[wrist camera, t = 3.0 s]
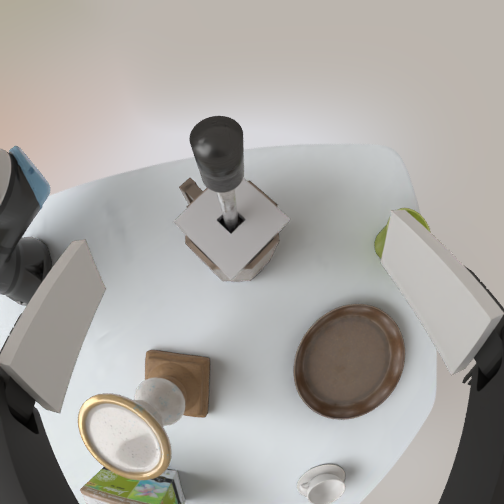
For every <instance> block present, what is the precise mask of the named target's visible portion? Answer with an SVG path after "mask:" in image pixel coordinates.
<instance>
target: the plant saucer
mask: <svg viewBox="0 0 504 504" xmlns="http://www.w3.org/2000/svg"><path fill="white" fill-rule="evenodd" d="M404 362H405V345H404V340H403V337H402V334H401V331H400V329H399V328H398V326H397V324H396V323H395V321H394V320H393V319H392V318H391V317H390V316H389V315H388V314H386V313H385V312H384V311H382V310H380V309H378V308H376V307H374V306H370V305H365V304H351V305H345V306H341V307H338V308H336V309H334V310H332V311H330V312H328V313H326V314H325V315H323V316H322V317H321V318H319V319H318V320H317V321H316V322H315V323H314V324H313V325H312V326H311V327H310V328H309V330H308V331H307V332H306V334H305V335H304V337H303V339H302V340H301V342H300V344H299V347H298V349H297V352H296V356H295V361H294V381H295V385H296V389H297V391H298V393H299V395H300V397H301V399H302V400H303V402H304V403H305V404H306V405H307V406H308V407H309V408H310V409H311V410H313V411H314V412H316V413H317V414H319V415H321V416H324V417H327V418H331V419H339V420H344V419H352V418H356V417H359V416H362V415H364V414H367V413H369V412H370V411H372V410H374V409H375V408H377V407H378V406H379V405H381V404H382V403H383V402H384V401H385V400H386V399H387V398H388V397H389V395H390V394H391V393H392V392H393V390H394V389H395V387H396V385H397V383H398V381H399V379H400V377H401V374H402V371H403V367H404Z"/></svg>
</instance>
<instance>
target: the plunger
mask: <svg viewBox="0 0 504 504" xmlns="http://www.w3.org/2000/svg"><path fill="white" fill-rule="evenodd" d="M190 144H191V147H192V150H193V153H194V156H195V159H196V162H197V165H198V168H199V171H200V174H201V177H202V180H203V183H204V184H205V186H206V187H207V188H208V189H210V190H212V191H214V192H217V196H218V200H219V204H220V208H221V211H222V215H223V218H222V219H221V220H220V221H219V223H220V224H221V225H222V226H223V227H224V228H225V229H226V230H227V231H228V232H229V233H230V234H232V233H233V232H234V231H235V230H236V229H237V228H238V227H239V226H240V225H241V224H242V223H243V222H244V220H243V219H241V218H240V217H239V216H238V214H237V205H236V195H235V188H237V187H238V186H239V185H240V183H241V182H242V180H243V177H244V156H243V131H242V128H241V126H240V125H239V124H238V123H237V122H236V121H235V120H233V119H231V118H229V117H225V116H213V117H209V118H206V119H204V120H202V121H201V122H199V123H198V124H197V125H196V126H195V127H194V128H193V130H192V131H191V134H190Z"/></svg>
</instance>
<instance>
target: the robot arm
mask: <svg viewBox="0 0 504 504" xmlns="http://www.w3.org/2000/svg"><path fill="white" fill-rule="evenodd" d="M49 194H50V185H49V183H48V182H47V181H46V179H45V178H44V177H43V175H42V174H41V173H40V171H39V170H38V169H37V168H36V167H35V166H34V164H33V163H32V162H31V160H30V159H29V158H28V157H27V156H26V154H25V153H24V152H23V151H22V150H21V149H20V148H19V147H18V146H14V147H13V148H12V149H10V150H9V153H8V152H6V151H5V150H3V149H0V294H2V295H6V296H7V297H9V298H10V299H12V300H14V301H15V302H17V303H18V304H20V305H24V306H26V308H25V310H24V311H23V313H22V314H21V315H20V316H19V318H18V319H17V321H16V323H15V325H14V328H12V330H11V332H10V336H8V338H7V339H6V341H5V343H4V345H3V347H2V349H1V351H0V504H79V503H78V501H77V499H76V498H75V496H74V494H73V492H72V490H71V488H70V487H69V485H68V483H67V481H66V479H65V477H64V475H63V473H62V471H61V468H60V466H59V464H58V462H57V460H56V457H55V455H54V453H53V450H52V448H51V445H50V443H49V440H48V437H47V435H46V432H45V429H44V426H43V423H42V420H41V417H40V414H39V412H38V410H37V408H35V407H34V405H35V401H36V402H38V403H39V404H40V405H41V406H42V407H43V408H45V409H46V410H50V411H53V412H57V413H60V412H61V408H62V405H63V401H64V398H65V394H66V391H67V388H68V385H69V381H70V378H71V375H72V372H73V369H74V366H75V364H76V361H77V358H78V355H79V352H80V350H81V347H82V344H83V342H84V339H85V337H86V334H87V332H88V329H89V327H90V324H91V322H92V320H93V317H94V315H95V313H96V310H97V308H98V306H99V303H100V301H101V299H102V297H103V295H104V292H105V290H106V287H105V285H104V283H103V281H102V279H101V276H100V274H99V272H98V269H97V267H96V265H95V262H94V260H93V257H92V255H91V252H90V250H89V247H88V245H87V242H86V239H84V240H78V241H72V242H71V244H70V245H69V246H68V248H67V249H66V250H65V251H64V253H63V254H62V255H61V257H60V258H59V259H58V261H57V262H56V263H55V265H54V266H53V267H52V265H51V258H50V254H49V251H48V249H47V247H46V245H45V244H44V243H43V242H42V241H40V240H38V239H36V238H33V237H24V238H22V236H23V234H24V233H25V231H26V230H27V228H28V227H29V225H30V224H31V222H32V221H33V219H34V218H35V216H36V215H37V213H38V212H39V211H40V209H41V208H42V205H43V204H44V202H45V201H46V199H47V197H48V196H49ZM380 263H381V264H382V266H383V267H384V269H385V270H386V271H387V273H388V274H389V276H390V277H391V278H392V280H393V281H394V283H395V284H396V286H397V287H398V288H399V290H400V291H401V293H402V294H403V296H404V297H405V299H406V300H407V302H408V303H409V305H410V306H411V308H412V309H413V311H414V313H415V314H416V316H417V317H418V319H419V320H420V322H421V324H422V325H423V327H424V329H425V330H426V332H427V333H428V335H429V337H430V339H431V340H432V342H433V344H434V345H435V347H436V349H437V351H438V352H439V354H440V356H441V357H442V359H443V361H444V363H445V365H446V367H447V369H448V370H449V372H450V374H451V375H453V374H455V373H457V372H459V371H461V370H463V369H465V368H466V367H467V366H468V364H469V363H470V362H471V361H472V359H473V358H474V359H475V361H476V365H475V366H474V367H473V368H472V369H471V370H470V372H469V373H468V374H467V375H466V376H465V377H464V380H463V383H465V382H466V381H467V380H468V379H469V378H470V377H471V376H472V379H471V380H470V381H469V383H468V385H471V388H470V395H469V402H468V407H467V413H466V418H465V423H464V427H463V432H462V436H461V440H460V444H459V447H458V451H457V454H456V458H455V461H454V464H453V467H452V470H451V473H450V476H449V479H448V482H447V484H446V486H445V489H444V492H443V494H442V496H441V499H440V501H439V503H438V504H504V308H503V307H502V306H501V304H500V303H499V302H498V301H497V299H496V298H495V297H494V296H493V295H492V293H491V292H490V291H489V290H488V289H486V286H485V285H484V284H483V283H482V282H480V280H479V279H478V277H477V276H476V275H475V274H474V273H473V272H472V271H471V270H469V269H468V268H466V267H465V266H464V265H463V264H462V263H461V262H460V261H459V260H458V259H457V258H456V257H455V256H454V255H453V254H452V253H451V252H450V251H449V250H448V249H447V248H446V247H445V246H444V245H443V244H442V243H441V242H440V241H439V240H438V239H437V238H436V237H435V236H434V235H433V234H431V233H430V232H429V231H428V230H427V229H426V228H425V227H424V226H423V225H422V224H421V223H419V222H418V221H417V220H416V219H415V218H414V217H413V216H411V215H410V214H409V213H408V212H407V211H406V210H391V215H390V220H389V225H388V230H387V235H386V240H385V245H384V249H383V253H382V258H381V262H380Z"/></svg>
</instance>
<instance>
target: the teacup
mask: <svg viewBox="0 0 504 504" xmlns="http://www.w3.org/2000/svg"><path fill="white" fill-rule="evenodd" d="M344 480H345V472H344V470H343V469H342V468H341V467H339V466H337V465H333V464H326V465H320V466H317V467H314V468H312V469H310V470H308V471H307V472H306V473H304V474H303V475H302V476H301V477H300V479H299V481H298V483H297V489H298V492H299V493H300V494H301V495H303V496H305V497H307V498H308V500H309V501H310V502H311V503H313V504H328V503H331V502H333V501H335V500H337V499H338V498H339V497H341V496H342V494H343V493H344V491H345V484H344Z"/></svg>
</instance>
